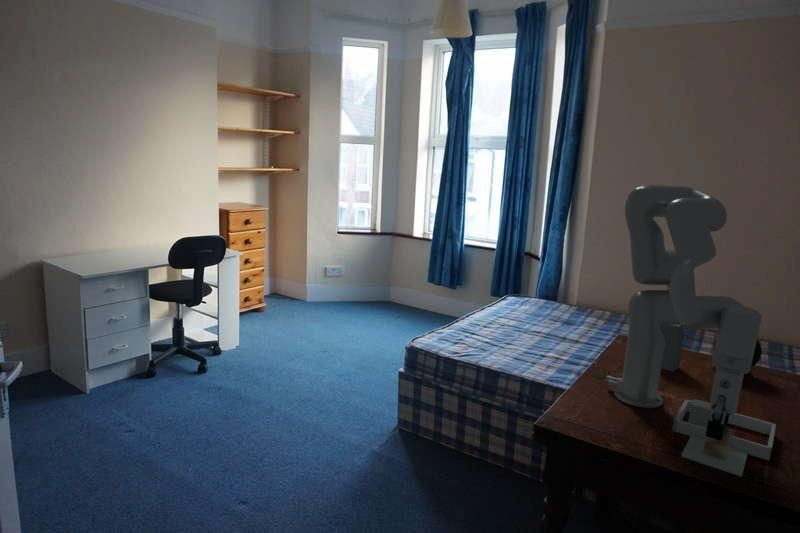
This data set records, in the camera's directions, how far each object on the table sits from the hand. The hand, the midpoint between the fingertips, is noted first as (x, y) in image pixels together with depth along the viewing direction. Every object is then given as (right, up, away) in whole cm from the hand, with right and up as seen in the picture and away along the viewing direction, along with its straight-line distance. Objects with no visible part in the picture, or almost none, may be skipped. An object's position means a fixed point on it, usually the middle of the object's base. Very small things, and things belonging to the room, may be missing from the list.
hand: (716, 429), depth 127 cm
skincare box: (+13, +4, +54) cm, 56 cm away
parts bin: (+8, -4, +11) cm, 15 cm away
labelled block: (0, -6, 0) cm, 6 cm away
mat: (0, -6, 0) cm, 6 cm away
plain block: (+4, -3, +15) cm, 16 cm away
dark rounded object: (+35, +3, +51) cm, 62 cm away
